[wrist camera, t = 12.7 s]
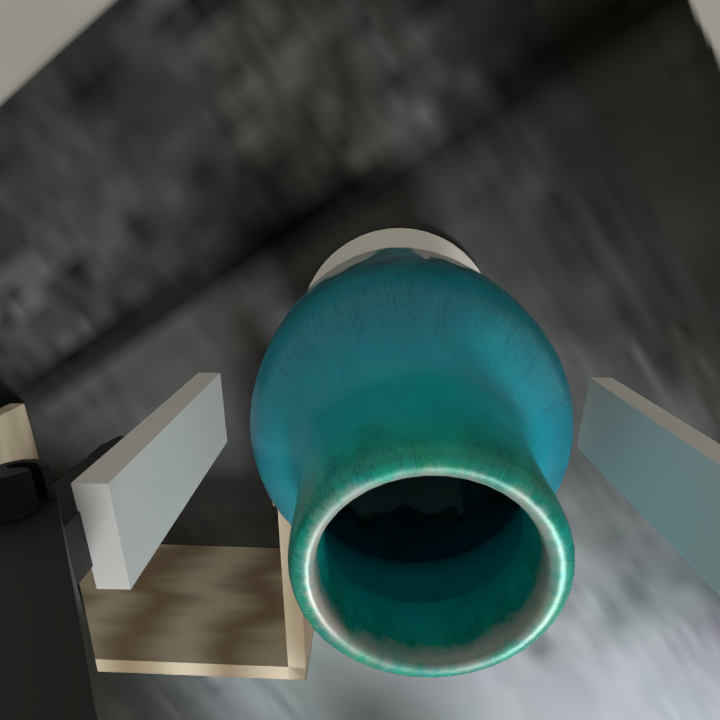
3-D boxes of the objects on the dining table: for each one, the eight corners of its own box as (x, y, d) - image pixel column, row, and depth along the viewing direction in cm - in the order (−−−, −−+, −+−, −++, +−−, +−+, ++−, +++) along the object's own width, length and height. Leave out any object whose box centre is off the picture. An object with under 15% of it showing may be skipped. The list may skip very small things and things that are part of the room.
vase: (506, 357, 26) (814, 665, 8) (363, 433, 28) (340, 818, 10) (425, 204, 23) (601, 127, 5) (274, 300, 25) (16, 489, 7)
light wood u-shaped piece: (52, 550, 33) (-74, 678, 24) (7, 394, 29) (-169, 475, 19) (324, 559, 32) (303, 694, 23) (320, 400, 28) (293, 488, 19)
